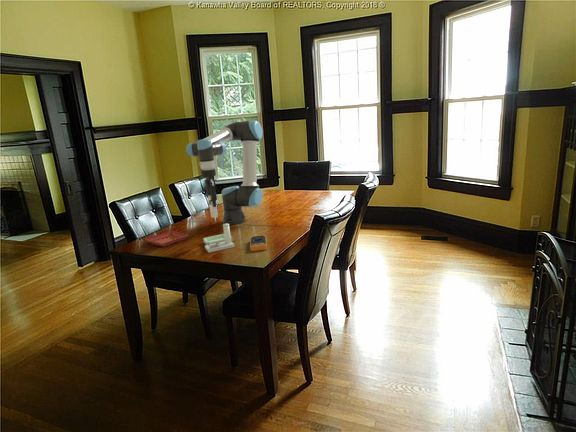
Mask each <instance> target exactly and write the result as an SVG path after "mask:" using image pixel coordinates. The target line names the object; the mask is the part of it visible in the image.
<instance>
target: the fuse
mask: <svg viewBox="0 0 576 432" xmlns="http://www.w3.org/2000/svg"><path fill="white" fill-rule="evenodd" d="M222 227H223V234H224V236H225V243H226V244H230V243H231V237H232V236H231V231H230V230H231V229H230V225H229V224H228V223H226V224H222Z"/></svg>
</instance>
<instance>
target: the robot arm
mask: <svg viewBox="0 0 576 432" xmlns="http://www.w3.org/2000/svg"><path fill="white" fill-rule="evenodd" d="M263 133H264V131H263V128H262V125H261V124H260V121H258V120H252V119H251V120H243V121H242V120H241V121H236V122H235V121H234V122H231V123H229V124H226V125H225V126H223V127H221V128H220V129H219V131H217V132H215V133H213V134H210V135H209V136H207V137H205V138H203V139H198V140H197V141H196V142H191V143H188V144H187V145H186V149H185V151H186V155H188V156H190V157H193V158H195V157H198V159H199V164H198V165H199V167H200V170H201V171H200V174H201V175H200V176H201V177H202V178H205V179H204V184H205V190H206V198H208V195H210V196H211V200H210V202H211V206H212V213H216V212H218V211H219V210H218V206H217V205H218V203H216V202H217V200H218V196H217V189H216V181H215V179H214V177H216V176H217V173H216V165H215V158H214V157H218V156H221V155H224V154H225V153H226V152H227V145H226V143H230V142H233V141H234V142H235V141H240V143H241V144H242V183H241V184H240V185H233V186H229V187H225V188H223V189H222V190H221V199H222V205H223V216H222V223H223V224H226V223H228V224H229V226H230V225H238V224H243V223H244V222H246V219H247V218H246V215H245V214H244V211H243V207H247V208H248V207H249V208H254V207H255V208H256V207H258V206H260V205H261V203H262V201H263V190H262V189H261V188H260V185H259V184H258V183H257V179H258V178H257V177H258V175H257V174H258V173H257V171H258V170H257V169H258V168H257V166H258V165H257V164H258V162H257V159H258V158H257V156H258V155H257V146H258V144H259V143H260V140H261V139H262V138H263V136H264V135H263ZM223 224H222V225H223Z"/></svg>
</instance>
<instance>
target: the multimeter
mask: <svg viewBox="0 0 576 432" xmlns="http://www.w3.org/2000/svg"><path fill="white" fill-rule="evenodd" d="M249 238H250V239H249V240H250V241H249V243H250V244H249V249H250V251H251V252H260V251H266V250H267V249H268V245H267V235H266V234H255V235H252V236H250V237H249Z"/></svg>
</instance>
